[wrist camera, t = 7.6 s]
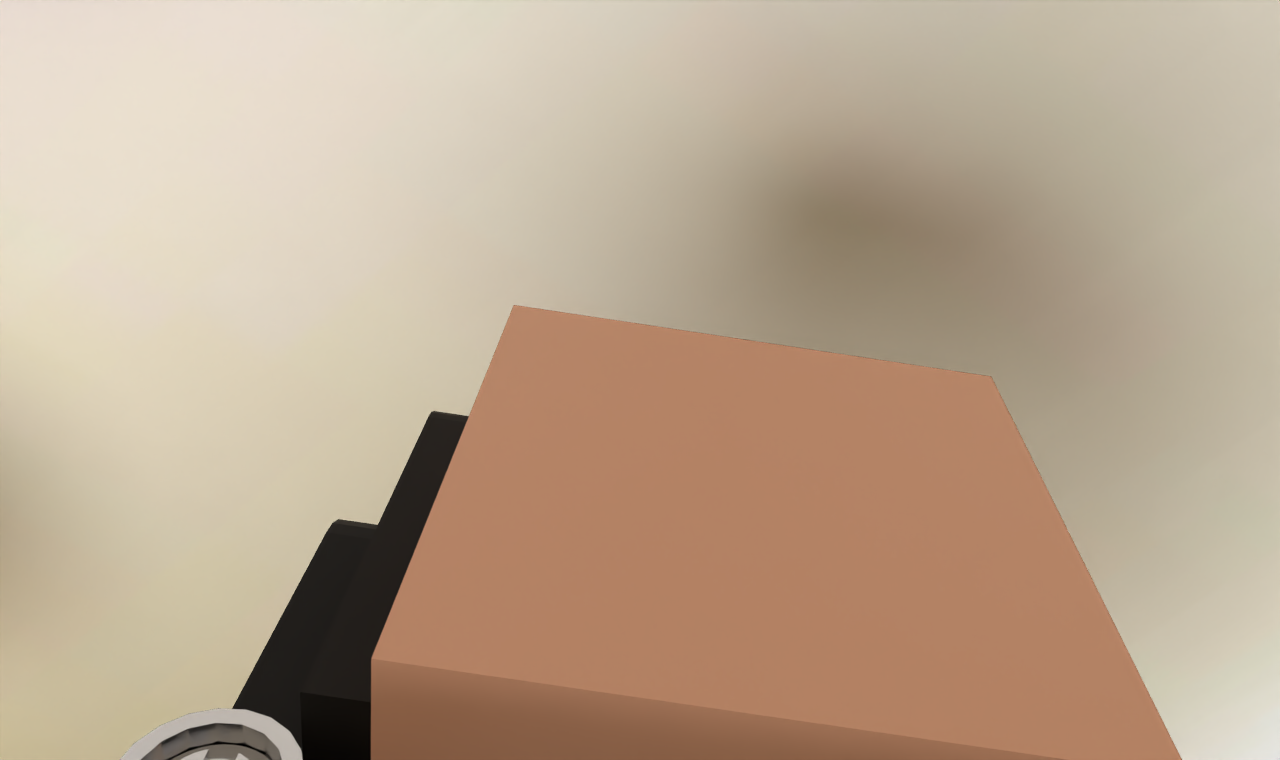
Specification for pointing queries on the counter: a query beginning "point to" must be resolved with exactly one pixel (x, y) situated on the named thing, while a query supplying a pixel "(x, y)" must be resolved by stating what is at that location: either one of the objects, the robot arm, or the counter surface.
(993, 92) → the counter surface
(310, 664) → the robot arm
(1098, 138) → the counter surface
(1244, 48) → the counter surface
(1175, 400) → the counter surface
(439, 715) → the terracotta block
